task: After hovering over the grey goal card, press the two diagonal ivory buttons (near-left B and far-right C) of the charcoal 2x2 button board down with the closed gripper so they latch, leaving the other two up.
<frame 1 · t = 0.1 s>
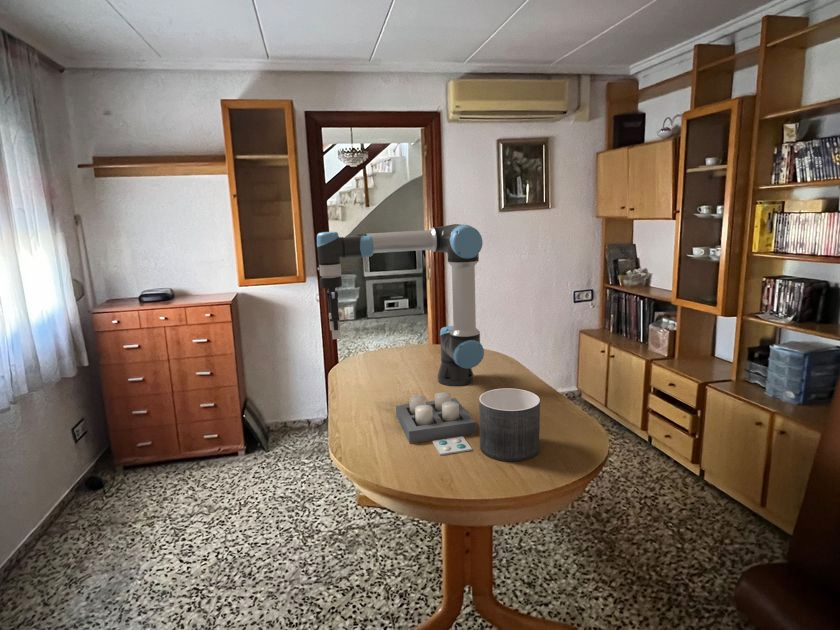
hand: (335, 334, 188), 28 cm above the table, fingers open, 13 cm apart
goal card: (451, 446, 159), on the table
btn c: (417, 405, 177), point 6 cm above the table, slide at 0.0 cm
board: (434, 424, 175), on the table
btn b: (450, 412, 171), point 6 cm above the table, slide at 0.0 cm
planter: (509, 448, 157), on the table
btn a: (443, 402, 179), point 6 cm above the table, slide at 0.0 cm
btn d: (424, 416, 169), point 6 cm above the table, slide at 0.0 cm
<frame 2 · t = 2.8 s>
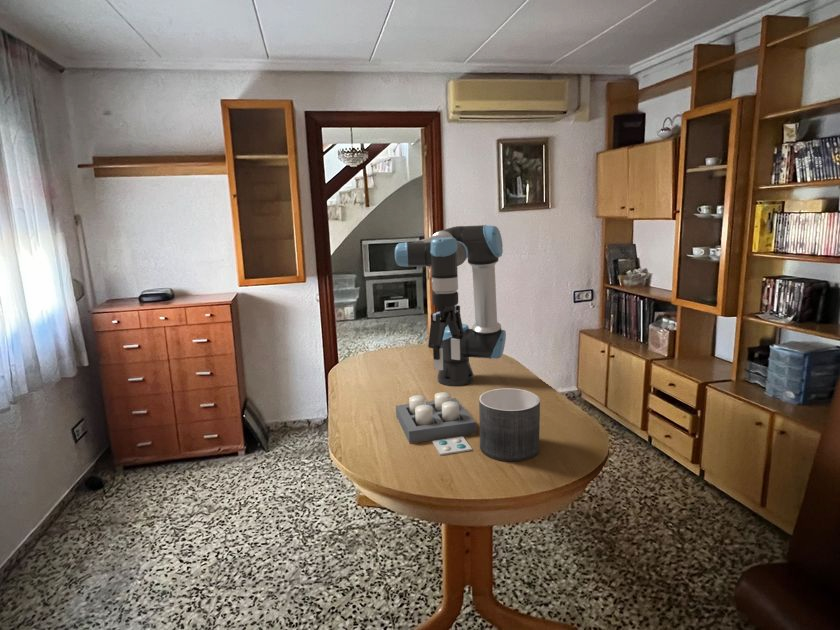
hand: (447, 364, 156), 26 cm above the table, fingers open, 10 cm apart
nothing on the table moved.
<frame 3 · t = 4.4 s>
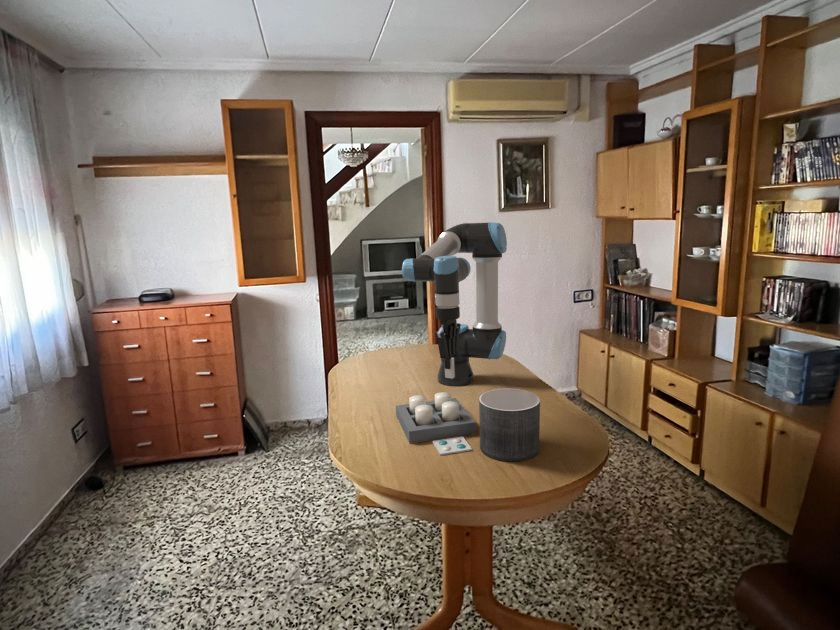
hand: (449, 377, 167), 18 cm above the table, fingers closed
nothing on the table moved.
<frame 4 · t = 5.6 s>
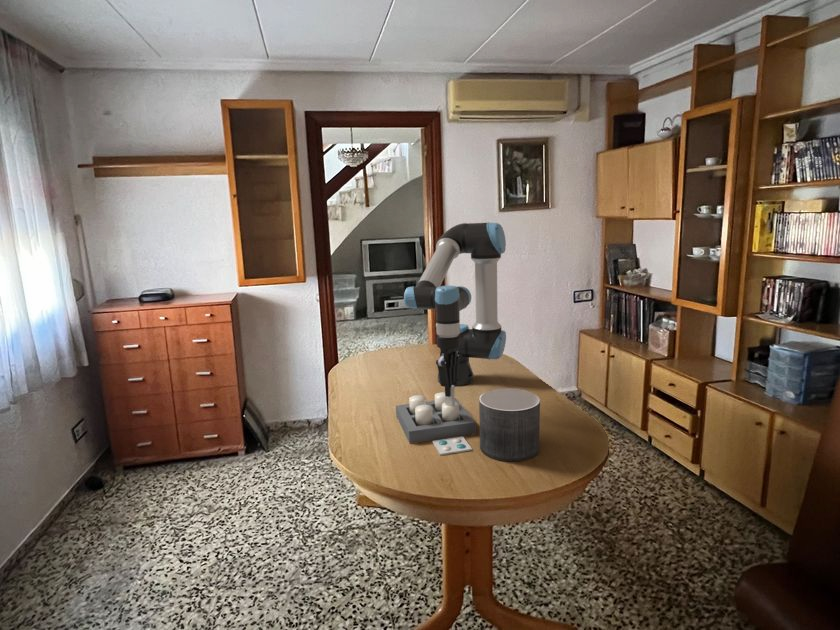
hand: (450, 404, 170), 8 cm above the table, fingers closed
btn b: (450, 412, 171), point 5 cm above the table, slide at 0.1 cm, touching gripper
everything else where it was.
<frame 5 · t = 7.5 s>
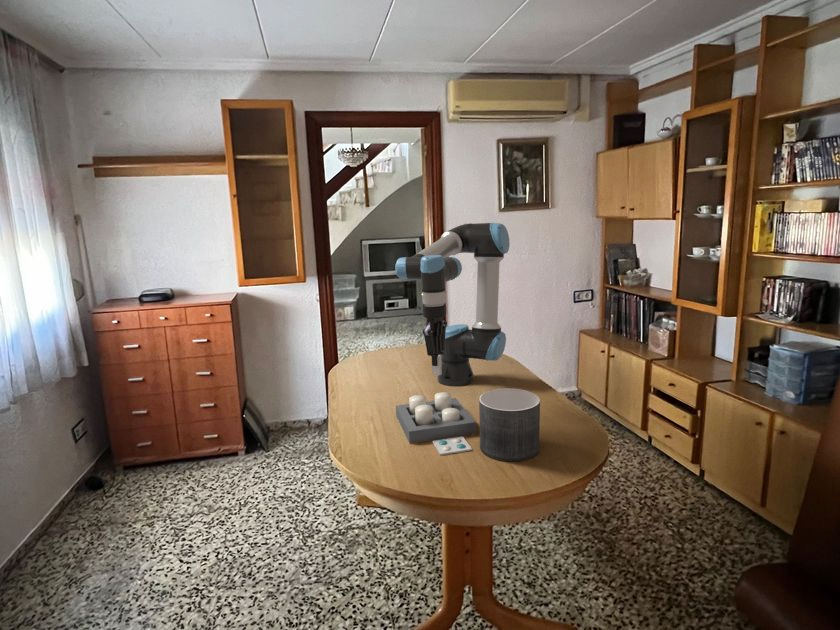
hand: (436, 374, 171), 18 cm above the table, fingers closed
btn b: (450, 418, 171), point 3 cm above the table, slide at 2.3 cm
everything else where it was.
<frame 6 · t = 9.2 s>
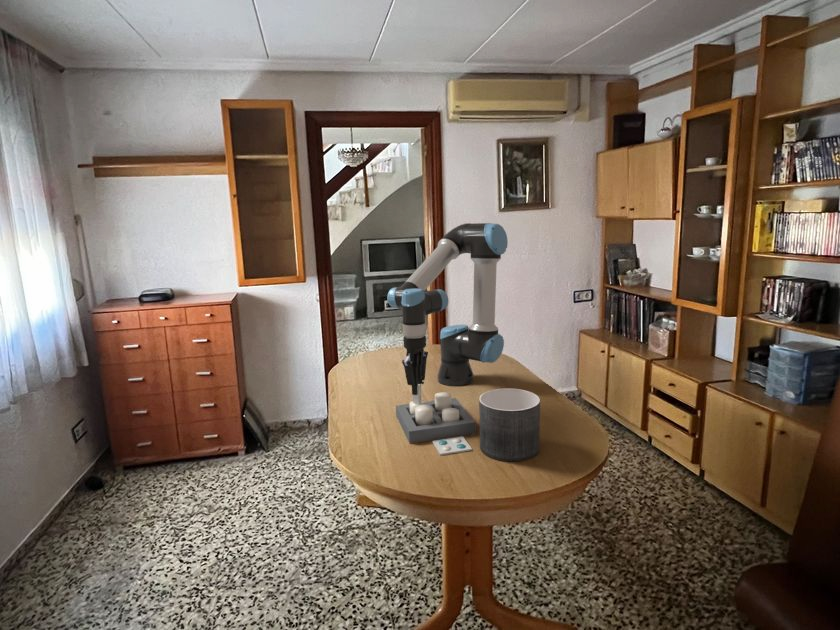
hand: (417, 402, 177), 7 cm above the table, fingers closed
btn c: (417, 410, 178), point 4 cm above the table, slide at 1.7 cm
everything else where it was.
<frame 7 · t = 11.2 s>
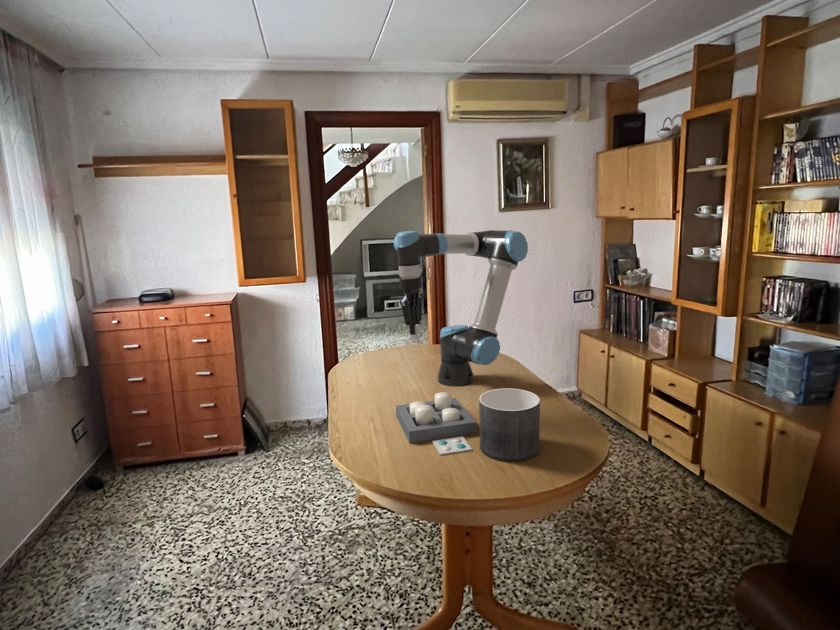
hand: (415, 342, 184), 25 cm above the table, fingers closed
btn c: (417, 412, 178), point 3 cm above the table, slide at 2.3 cm
everything else where it was.
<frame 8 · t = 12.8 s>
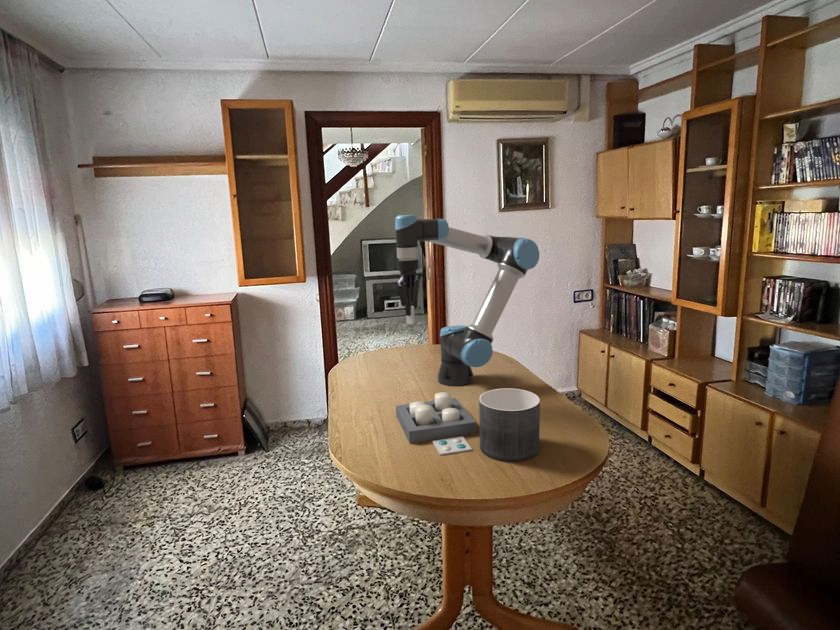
hand: (410, 323, 189), 30 cm above the table, fingers closed
nothing on the table moved.
at the end: btn b slide at 2.3 cm; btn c slide at 2.3 cm; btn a slide at 0.0 cm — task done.
